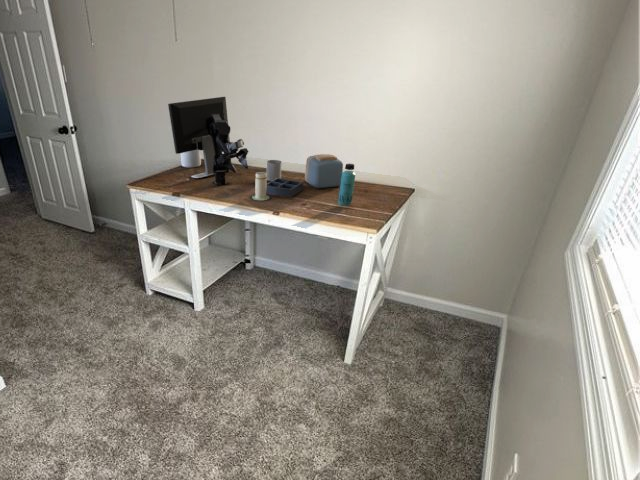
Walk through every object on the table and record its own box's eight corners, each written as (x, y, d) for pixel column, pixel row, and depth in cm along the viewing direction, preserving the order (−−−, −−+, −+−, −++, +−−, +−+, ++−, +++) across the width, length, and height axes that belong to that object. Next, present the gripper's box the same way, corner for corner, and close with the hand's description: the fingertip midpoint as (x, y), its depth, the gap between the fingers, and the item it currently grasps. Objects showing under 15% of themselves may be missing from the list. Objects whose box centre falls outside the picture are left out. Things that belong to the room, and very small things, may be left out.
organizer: (263, 193, 218) (263, 185, 216) (276, 185, 229) (276, 177, 227) (290, 198, 211) (290, 189, 209) (302, 190, 223) (303, 181, 220)
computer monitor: (227, 166, 264) (220, 96, 246) (237, 167, 259) (230, 96, 240) (177, 180, 239) (165, 103, 221) (186, 181, 234) (175, 103, 215)
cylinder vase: (202, 163, 272) (200, 122, 259) (199, 168, 261) (196, 125, 248) (183, 162, 273) (180, 121, 260) (179, 167, 262) (176, 125, 249)
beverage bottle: (335, 204, 203) (340, 162, 193) (349, 203, 204) (354, 162, 193) (339, 208, 198) (344, 166, 187) (353, 208, 198) (359, 165, 188)
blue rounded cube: (328, 178, 240) (331, 150, 232) (343, 186, 227) (346, 156, 218) (302, 181, 236) (305, 152, 227) (315, 189, 223) (318, 159, 214)
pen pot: (253, 196, 213) (253, 172, 207) (264, 195, 215) (264, 171, 208) (257, 199, 209) (257, 175, 202) (267, 198, 210) (268, 174, 204)
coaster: (248, 196, 214) (248, 196, 213) (263, 194, 217) (263, 193, 217) (257, 202, 207) (257, 201, 207) (272, 199, 210) (272, 198, 210)
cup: (279, 182, 235) (280, 163, 230) (265, 181, 237) (265, 163, 231) (281, 177, 242) (282, 160, 237) (267, 177, 244) (267, 159, 238)
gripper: (220, 136, 199) (237, 164, 199) (245, 131, 211) (262, 157, 211) (209, 151, 208) (226, 177, 208) (234, 145, 220) (250, 170, 219)
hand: (241, 170), depth 211 cm, fingers open, 9 cm apart
